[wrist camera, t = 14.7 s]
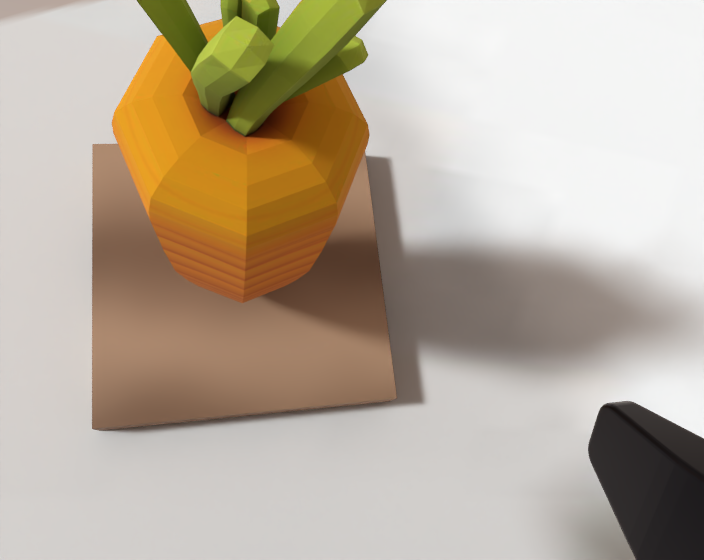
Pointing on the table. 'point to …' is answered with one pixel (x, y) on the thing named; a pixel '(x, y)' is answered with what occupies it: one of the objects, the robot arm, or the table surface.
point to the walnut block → (229, 322)
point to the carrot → (246, 137)
